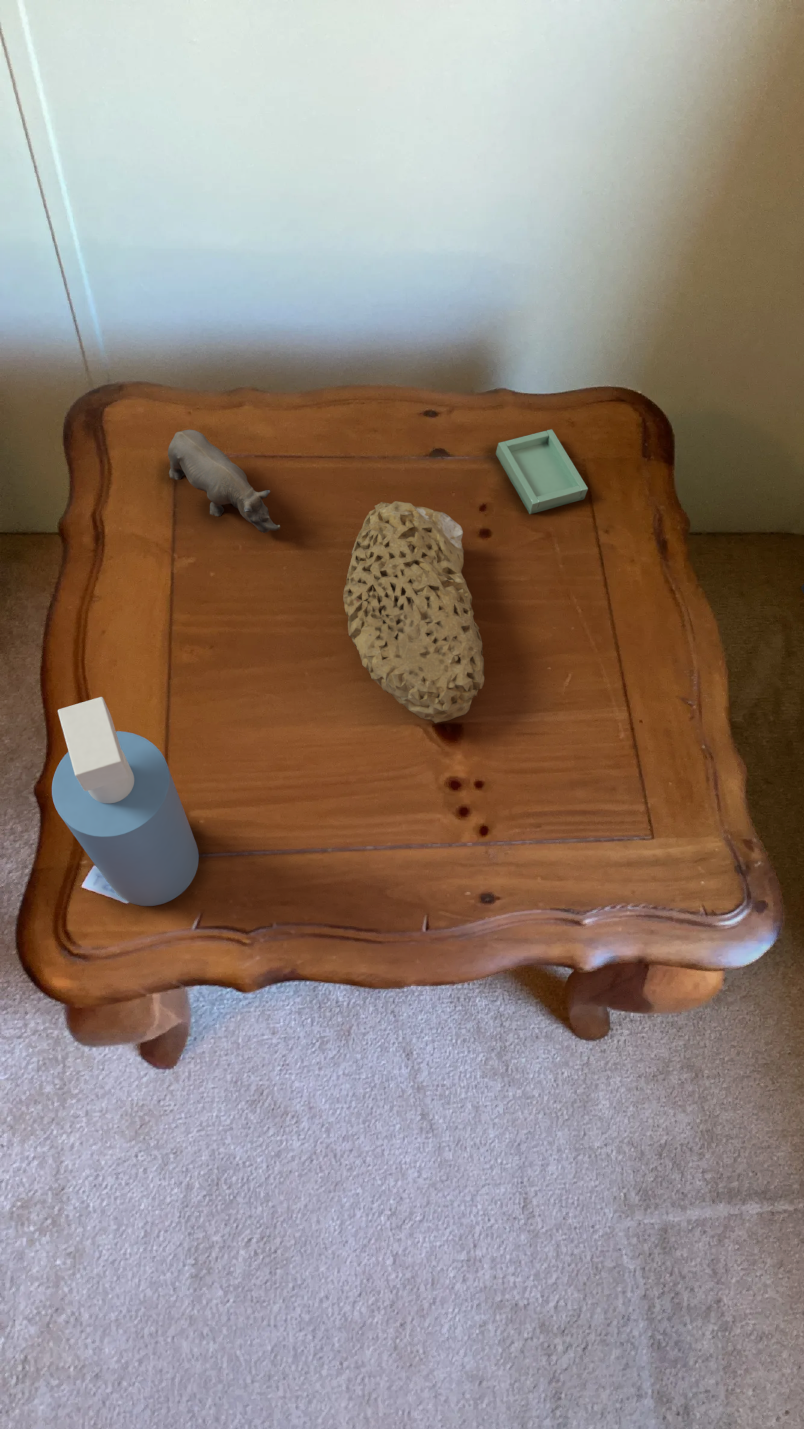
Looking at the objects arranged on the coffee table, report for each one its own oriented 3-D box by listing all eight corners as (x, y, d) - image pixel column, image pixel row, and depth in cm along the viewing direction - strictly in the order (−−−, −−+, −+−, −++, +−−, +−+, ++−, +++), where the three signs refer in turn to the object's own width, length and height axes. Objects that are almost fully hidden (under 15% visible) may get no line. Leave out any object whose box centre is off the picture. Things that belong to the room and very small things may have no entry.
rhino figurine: (262, 562, 84) (259, 520, 78) (161, 477, 87) (150, 431, 82) (294, 537, 85) (293, 494, 80) (193, 454, 89) (185, 408, 83)
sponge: (350, 542, 87) (312, 703, 74) (372, 478, 81) (335, 641, 69) (480, 583, 89) (464, 746, 77) (511, 524, 83) (499, 690, 71)
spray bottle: (210, 887, 70) (170, 781, 51) (118, 920, 68) (42, 823, 49) (184, 807, 73) (137, 677, 54) (95, 836, 71) (15, 713, 52)
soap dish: (583, 500, 90) (588, 488, 89) (529, 516, 89) (533, 503, 87) (548, 441, 93) (552, 428, 92) (494, 455, 92) (498, 442, 90)
